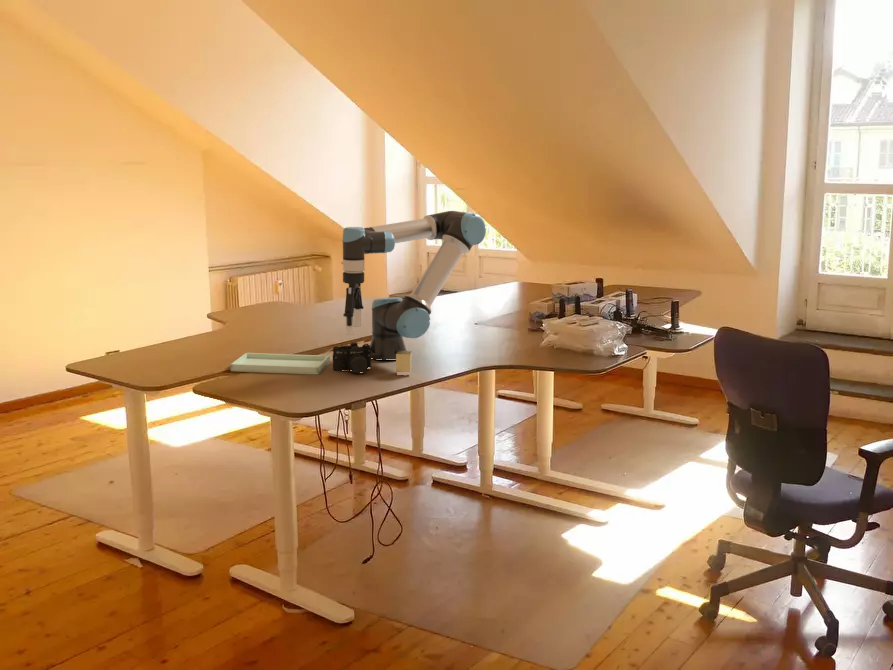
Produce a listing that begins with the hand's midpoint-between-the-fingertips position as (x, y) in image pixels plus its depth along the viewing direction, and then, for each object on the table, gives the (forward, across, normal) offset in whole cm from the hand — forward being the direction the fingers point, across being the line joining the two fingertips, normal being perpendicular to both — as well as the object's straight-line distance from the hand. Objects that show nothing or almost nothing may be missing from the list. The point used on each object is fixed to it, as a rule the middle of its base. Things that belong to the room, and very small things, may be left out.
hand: (353, 330), depth 314 cm
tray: (+15, -4, -28) cm, 32 cm away
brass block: (+15, 0, +18) cm, 24 cm away
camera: (+16, -1, 0) cm, 16 cm away
